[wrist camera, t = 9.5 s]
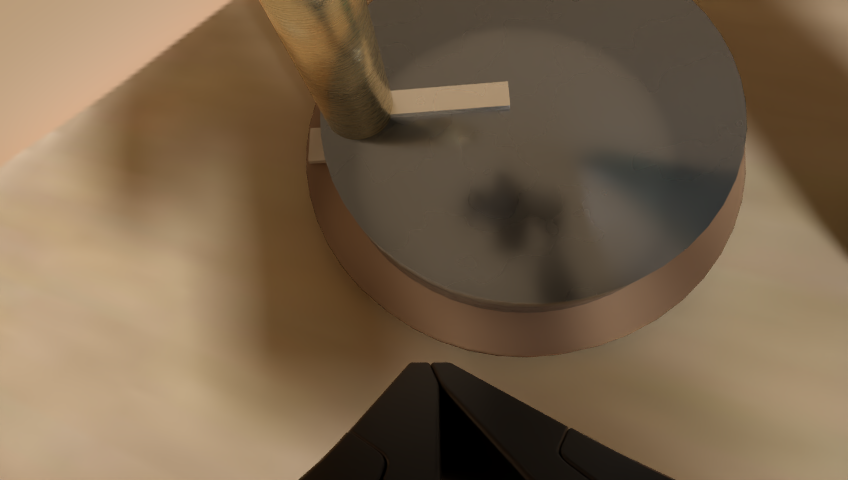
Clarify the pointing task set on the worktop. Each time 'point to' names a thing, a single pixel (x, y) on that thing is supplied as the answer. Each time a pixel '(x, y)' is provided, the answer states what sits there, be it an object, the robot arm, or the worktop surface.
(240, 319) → the worktop surface
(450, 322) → the stand base
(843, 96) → the worktop surface
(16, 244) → the worktop surface
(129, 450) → the worktop surface
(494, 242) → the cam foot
